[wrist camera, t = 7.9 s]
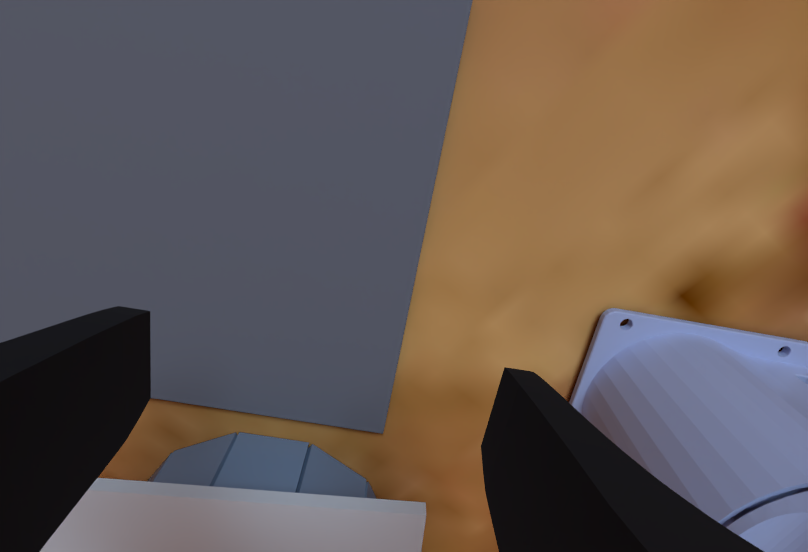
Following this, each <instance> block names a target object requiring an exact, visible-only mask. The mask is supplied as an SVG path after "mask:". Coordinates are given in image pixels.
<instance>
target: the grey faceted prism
mask: <svg viewBox="0 0 808 552" xmlns="http://www.w3.org/2000/svg"><path fill="white" fill-rule="evenodd" d="M308 446H309V443H307V442H301V441H294V440H288V439H281V438H274V437H268V436H261V435H255V434H248V433H241V432H239V434H238V435H237V434H236V433H232V434H229V435H226V436H222V437H219V438H216V439H212V440H209V441H206V442H202V443H199V444H196V445H192V446H189V447H186V448H182V449H179V450H176V451H174V452H173V453H171V454H170V455H169V456H168V457H167V459H166V460H165V461H164V462H163V463H162V464H161V466H160V467H159V468H158V469H157V470H156V471H155V473H154V474H153V475H152V476H151V477H150V479H149V480H148V481H147V482H160V483H173V484H186V485H200V486H213V487H226V488H240V489H253V490H266V491H279V492H293V493H306V494H319V495H332V496H346V497H359V498H372V499H376V496H375V494H374V492H373V490H372V488H371V486H370V484H369V482H366V479H365V478H363V477H362V476H360V475H359V474H357V473H356V472H354V471H353V470H351V469H350V468H348V467H347V466H345V465H344V464H342V463H340V462H339V461H337V460H336V459H334V458H333V457H331V456H330V455H328V454H327V453H325V452H324V451H322V450H321V449H319V448H318V447H316V446H315V445H313V444H312V445H311V446H310V447H309V448H308Z"/></svg>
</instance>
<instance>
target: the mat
mask: <svg viewBox="0 0 808 552" xmlns="http://www.w3.org/2000/svg"><path fill="white" fill-rule="evenodd" d="M471 5H472V0H0V343H1V342H4V341H8V340H11V339H14V338H17V337H20V336H23V335H26V334H29V333H32V332H35V331H38V330H41V329H44V328H47V327H50V326H53V325H56V324H59V323H62V322H65V321H68V320H71V319H74V318H77V317H80V316H84V315H87V314H90V313H93V312H97V311H100V310H104V309H108V308H112V307H117V306H122V307H128V308H134V309H140V310H147V311H150V355H151V398H155V399H161V400H168V401H174V402H181V403H187V404H194V405H200V406H207V407H213V408H220V409H226V410H233V411H239V412H246V413H252V414H259V415H265V416H272V417H278V418H285V419H291V420H298V421H304V422H311V423H317V424H324V425H330V426H337V427H343V428H350V429H356V430H363V431H369V432H376V433H382V434H383V431H384V427H385V422H386V417H387V412H388V407H389V402H390V397H391V393H392V388H393V383H394V378H395V373H396V368H397V363H398V359H399V354H400V349H401V344H402V339H403V334H404V330H405V325H406V320H407V315H408V310H409V305H410V300H411V296H412V291H413V286H414V281H415V276H416V271H417V267H418V262H419V257H420V252H421V247H422V242H423V237H424V233H425V228H426V223H427V218H428V213H429V208H430V203H431V199H432V194H433V189H434V184H435V179H436V174H437V170H438V165H439V160H440V155H441V150H442V145H443V140H444V136H445V131H446V126H447V121H448V116H449V111H450V106H451V102H452V97H453V92H454V87H455V82H456V77H457V73H458V68H459V63H460V58H461V53H462V48H463V43H464V39H465V34H466V29H467V24H468V19H469V14H470V10H471Z"/></svg>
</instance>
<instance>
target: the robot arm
mask: <svg viewBox="0 0 808 552" xmlns="http://www.w3.org/2000/svg"><path fill="white" fill-rule="evenodd" d="M624 319H629V321H628V323H627V324H626V325H624V326H620V323H621V322H622V321H623V320H624ZM782 347H784V348H783V349H782V351H780V352H778V351H779V349H780V348H782ZM150 398H151V355H150V311H147V310H140V309H134V308H128V307H122V306H117V307H112V308H108V309H104V310H100V311H97V312H93V313H90V314H87V315H84V316H80V317H77V318H74V319H71V320H68V321H65V322H62V323H59V324H56V325H53V326H50V327H47V328H44V329H41V330H38V331H35V332H32V333H29V334H26V335H23V336H20V337H17V338H14V339H11V340H8V341H4V342H1V343H0V552H40V551H41V549H42V548H43V546H44V545H45V544H46V543H47V541H48V540H49V539H50V537H51V536H52V535H53V534H54V532H55V531H56V530H57V529H58V527H59V526H60V525H61V523H62V522H63V521H64V520H65V518H66V517H67V516H68V515H69V513H70V512H71V511H72V509H73V508H74V507H75V506H76V504H77V503H78V502H79V501H80V499H81V498H82V497H83V495H84V494H85V493H86V492H87V490H88V489H89V488H90V486H91V485H92V484H93V483H94V481H95V480H96V479H97V478H98V476H99V475H100V474H101V472H102V471H103V470H104V469H105V467H106V466H107V465H108V463H109V462H110V461H111V459H112V458H113V457H114V456H115V454H116V453H117V452H118V450H119V449H120V448H121V446H122V445H123V444H124V442H125V441H126V439H127V438H128V436H129V434H130V433H131V431H132V429H133V428H134V426H135V424H136V423H137V421H138V419H139V418H140V416H141V414H142V412H143V410H144V409H145V407H146V405H147V403H148V401H149V400H150ZM481 451H482V463H483V474H484V483H485V492H486V496H487V501H488V506H489V510H490V514H491V519H492V523H493V528H494V532H495V536H496V540H497V545H498V549H499V552H808V342H806V341H801V340H795V339H789V338H783V337H778V336H772V335H766V334H760V333H755V332H749V331H743V330H737V329H732V328H726V327H720V326H714V325H709V324H703V323H697V322H692V321H686V320H680V319H674V318H669V317H663V316H657V315H651V314H646V313H640V312H634V311H628V310H623V309H617V308H610V309H608V310H606V311H604V312H603V313H602V315H601V316H600V319H599V322H598V324H597V327H596V330H595V333H594V335H593V338H592V341H591V344H590V346H589V349H588V352H587V355H586V357H585V360H584V363H583V366H582V368H581V371H580V374H579V377H578V379H577V382H576V385H575V388H574V390H573V393H572V396H571V399H570V401H569V402H567V401H566V400H565V399H564V398H563V397H562V396H561V395H560V394H559V393H558V392H557V391H555V390H554V389H553V388H552V387H551V386H550V385H549V384H548V383H547V382H545V381H544V380H543V379H542V378H541V377H539V376H538V375H537V374H535V373H534V372H531V371H524V370H518V369H512V368H504V371H503V375H502V378H501V381H500V385H499V388H498V391H497V395H496V398H495V401H494V405H493V408H492V411H491V415H490V418H489V421H488V425H487V428H486V431H485V435H484V438H483V441H482V445H481Z"/></svg>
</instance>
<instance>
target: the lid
mask: <svg viewBox="0 0 808 552" xmlns="http://www.w3.org/2000/svg"><path fill="white" fill-rule="evenodd" d="M425 520H426V503H425V502H412V501H399V500H386V499H372V498H359V497H346V496H332V495H319V494H306V493H293V492H279V491H266V490H253V489H240V488H226V487H213V486H200V485H186V484H173V483H160V482H147V481H133V480H120V479H107V478H97V479H96V480H95V481H94V483H93V484H92V485H91V486H90V488H89V489H88V490H87V492H86V493H85V494H84V495H83V497H82V498H81V499H80V501H79V502H78V503H77V504H76V506H75V507H74V508H73V509H72V511H71V512H70V513H69V515H68V516H67V517H66V518H65V520H64V521H63V522H62V523H61V525H60V526H59V527H58V529H57V530H56V531H55V532H54V534H53V535H52V536H51V537H50V539H49V540H48V541H47V543H46V544H45V545H44V546H43V548H42V549H41V551H40V552H421V548H422V541H423V534H424V527H425Z"/></svg>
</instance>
